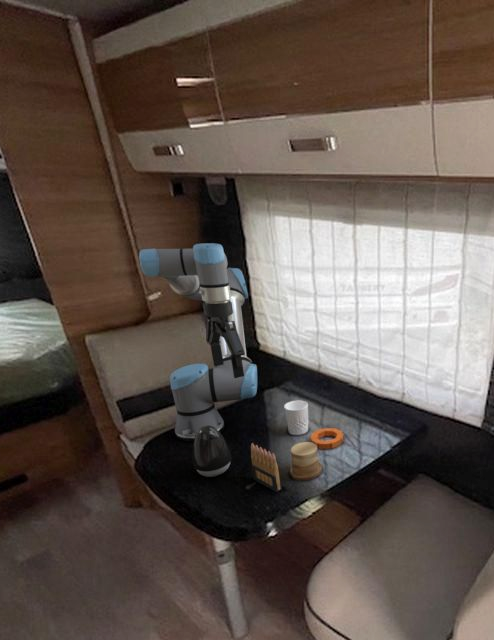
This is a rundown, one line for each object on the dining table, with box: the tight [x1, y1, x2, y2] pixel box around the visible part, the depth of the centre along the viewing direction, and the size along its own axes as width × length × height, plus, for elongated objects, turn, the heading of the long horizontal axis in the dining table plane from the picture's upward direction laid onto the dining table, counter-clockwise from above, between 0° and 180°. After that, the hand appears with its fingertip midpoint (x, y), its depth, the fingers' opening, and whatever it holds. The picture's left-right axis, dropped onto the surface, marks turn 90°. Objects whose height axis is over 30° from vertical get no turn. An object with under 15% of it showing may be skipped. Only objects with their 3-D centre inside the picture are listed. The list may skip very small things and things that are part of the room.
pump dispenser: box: [192, 425, 232, 478], centre depth 121 cm, size 10×10×15 cm
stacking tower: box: [289, 441, 323, 482], centre depth 123 cm, size 9×9×8 cm
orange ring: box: [309, 427, 344, 450], centre depth 141 cm, size 10×10×2 cm
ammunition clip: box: [250, 442, 283, 493], centre depth 117 cm, size 11×2×12 cm, turn 56°
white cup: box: [283, 399, 309, 436], centre depth 145 cm, size 8×8×10 cm
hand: (228, 370), depth 126 cm, fingers open, 13 cm apart
